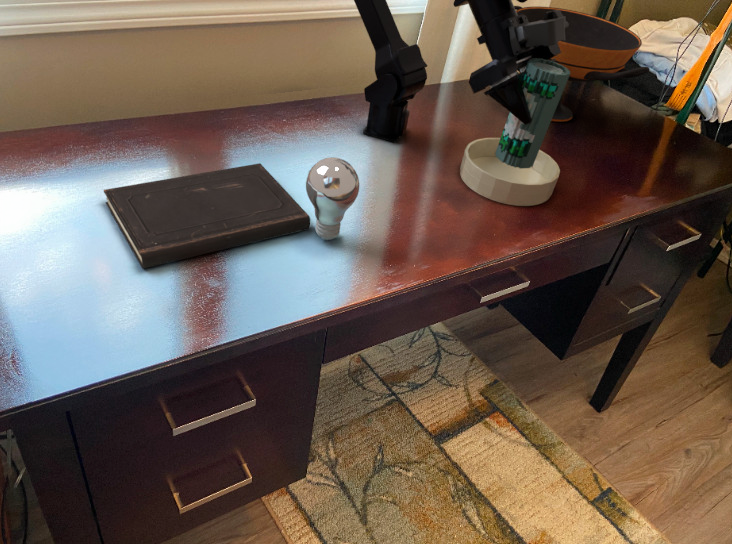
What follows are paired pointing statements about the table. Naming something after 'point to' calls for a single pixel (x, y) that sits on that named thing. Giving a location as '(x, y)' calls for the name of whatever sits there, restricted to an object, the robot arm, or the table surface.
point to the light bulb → (331, 194)
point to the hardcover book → (203, 213)
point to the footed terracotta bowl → (590, 49)
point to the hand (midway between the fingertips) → (538, 118)
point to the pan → (507, 175)
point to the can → (533, 113)
